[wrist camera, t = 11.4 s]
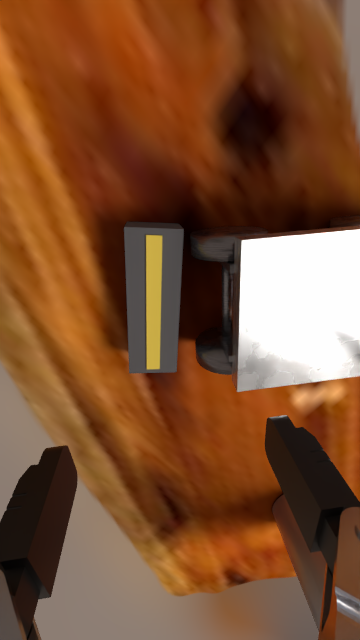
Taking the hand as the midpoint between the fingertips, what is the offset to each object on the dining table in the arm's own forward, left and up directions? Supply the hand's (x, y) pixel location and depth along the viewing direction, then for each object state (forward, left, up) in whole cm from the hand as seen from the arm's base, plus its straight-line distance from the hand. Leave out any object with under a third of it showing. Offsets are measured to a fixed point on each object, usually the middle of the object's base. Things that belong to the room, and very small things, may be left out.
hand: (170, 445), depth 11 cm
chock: (0, 0, -17) cm, 17 cm away
